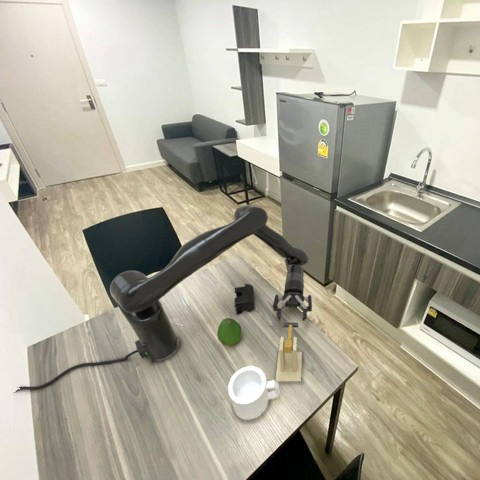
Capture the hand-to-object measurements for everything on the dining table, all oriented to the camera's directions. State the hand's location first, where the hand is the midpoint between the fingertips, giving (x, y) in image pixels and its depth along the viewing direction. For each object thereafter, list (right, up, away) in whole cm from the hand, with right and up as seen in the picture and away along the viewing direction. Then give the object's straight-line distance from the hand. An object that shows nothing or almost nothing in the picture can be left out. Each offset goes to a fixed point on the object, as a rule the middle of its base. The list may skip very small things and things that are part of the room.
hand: (291, 319), depth 93 cm
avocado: (-22, -8, +1) cm, 23 cm away
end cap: (-20, +2, +15) cm, 25 cm away
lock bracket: (0, -14, -6) cm, 15 cm away
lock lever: (0, -4, -8) cm, 9 cm away
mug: (-9, -20, -14) cm, 26 cm away
